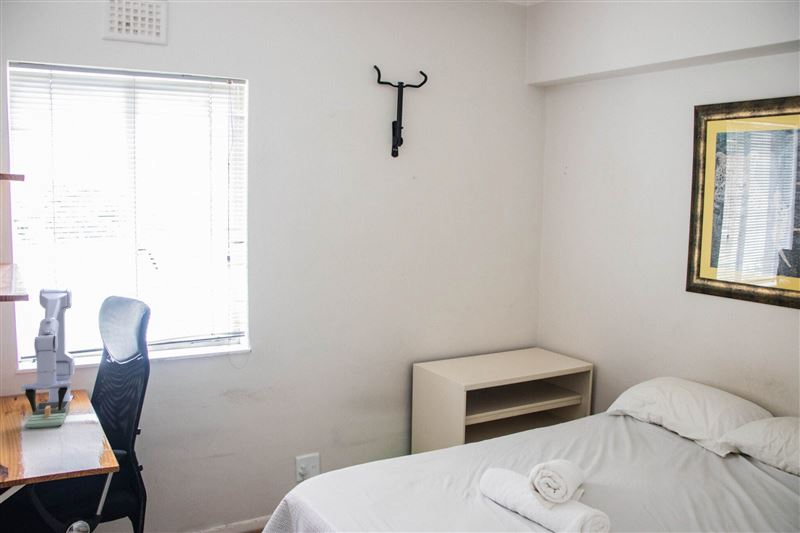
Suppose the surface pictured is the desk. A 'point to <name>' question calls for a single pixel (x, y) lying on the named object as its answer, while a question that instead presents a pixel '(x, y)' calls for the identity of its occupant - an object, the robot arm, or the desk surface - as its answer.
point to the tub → (52, 408)
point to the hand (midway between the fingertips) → (47, 410)
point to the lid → (46, 419)
